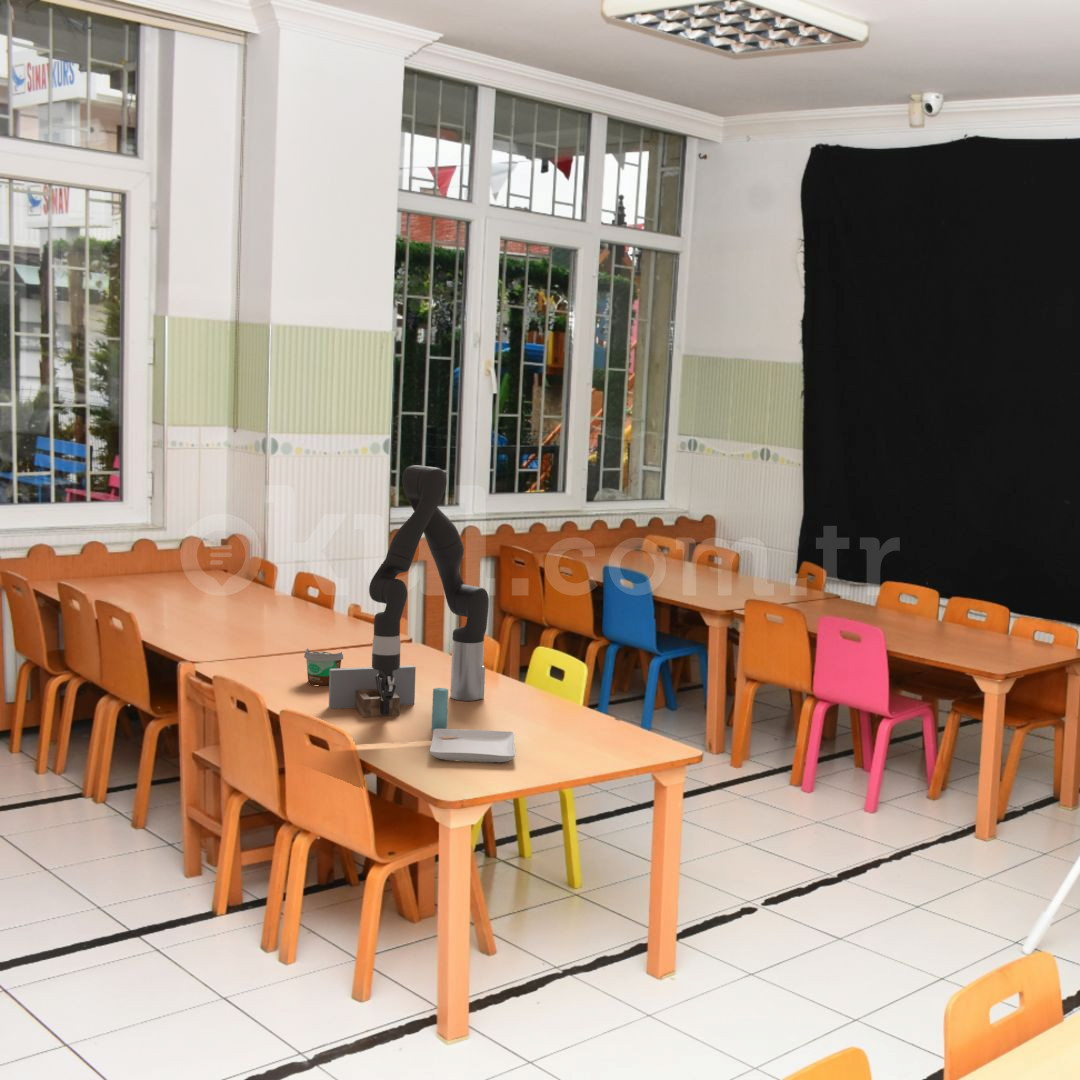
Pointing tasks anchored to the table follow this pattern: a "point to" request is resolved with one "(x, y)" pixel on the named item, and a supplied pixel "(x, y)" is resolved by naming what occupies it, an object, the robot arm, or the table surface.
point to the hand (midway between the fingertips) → (384, 714)
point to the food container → (321, 666)
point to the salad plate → (473, 745)
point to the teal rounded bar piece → (439, 708)
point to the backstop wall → (367, 684)
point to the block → (374, 703)
